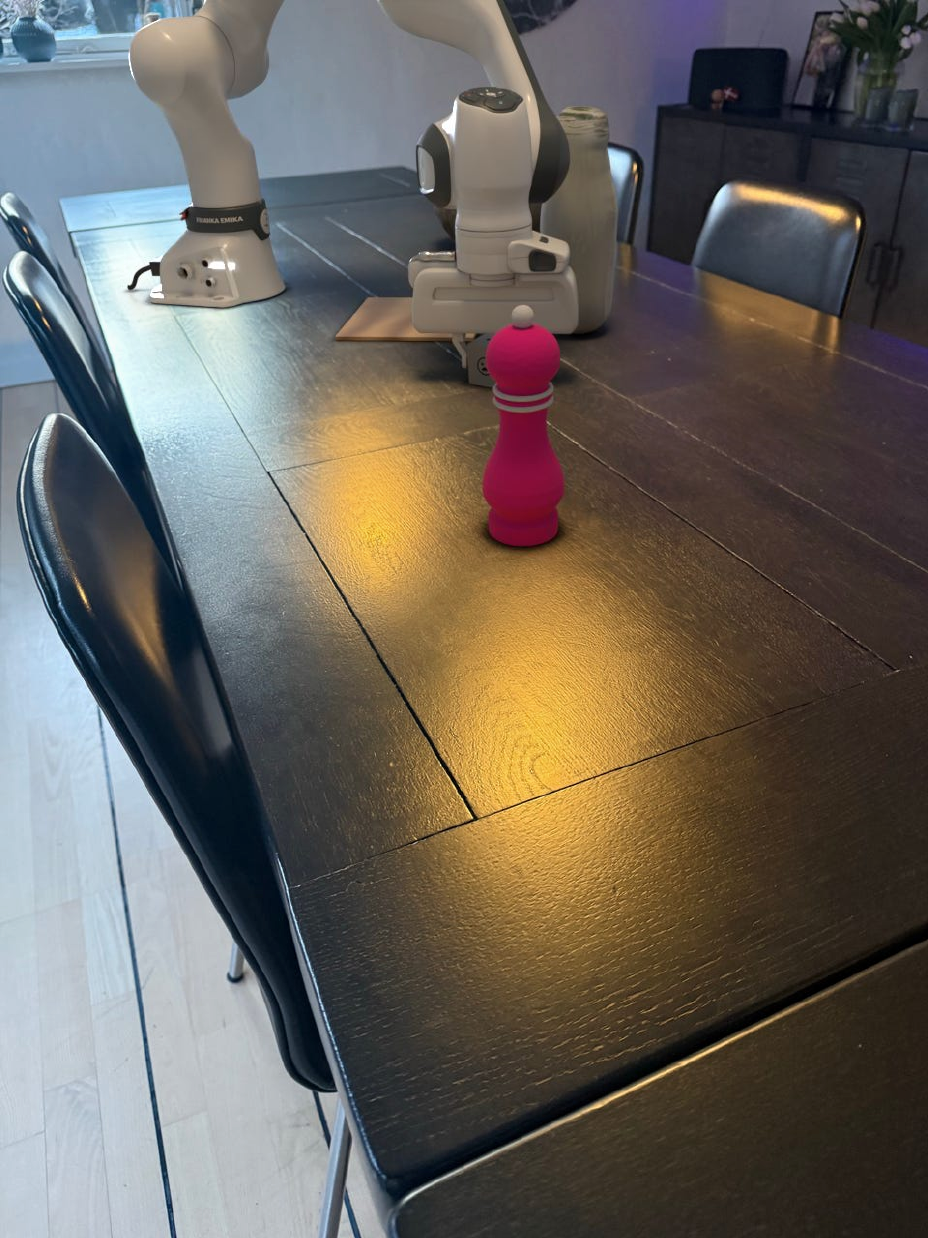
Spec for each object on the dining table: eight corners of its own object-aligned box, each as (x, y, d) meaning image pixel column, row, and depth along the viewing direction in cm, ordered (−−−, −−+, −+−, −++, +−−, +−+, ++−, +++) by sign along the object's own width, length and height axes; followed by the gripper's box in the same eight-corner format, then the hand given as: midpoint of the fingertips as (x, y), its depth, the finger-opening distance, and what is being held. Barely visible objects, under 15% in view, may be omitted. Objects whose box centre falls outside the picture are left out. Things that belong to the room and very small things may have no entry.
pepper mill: (479, 514, 84) (472, 295, 73) (556, 508, 84) (560, 289, 73) (488, 553, 78) (481, 322, 67) (569, 546, 78) (577, 315, 67)
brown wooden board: (335, 340, 129) (335, 336, 128) (368, 300, 145) (367, 297, 144) (473, 341, 126) (473, 337, 125) (490, 301, 142) (490, 297, 142)
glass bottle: (616, 322, 130) (629, 101, 114) (602, 344, 122) (613, 110, 106) (550, 318, 133) (554, 101, 117) (532, 339, 125) (533, 110, 109)
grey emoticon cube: (503, 389, 110) (502, 349, 107) (468, 383, 112) (467, 343, 109) (523, 376, 113) (522, 337, 111) (489, 370, 116) (488, 331, 113)
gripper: (401, 257, 103) (409, 374, 111) (579, 256, 100) (575, 377, 108) (411, 244, 108) (419, 357, 116) (582, 243, 105) (578, 359, 113)
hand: (496, 367), depth 112 cm, fingers closed on grey emoticon cube, 5 cm apart
